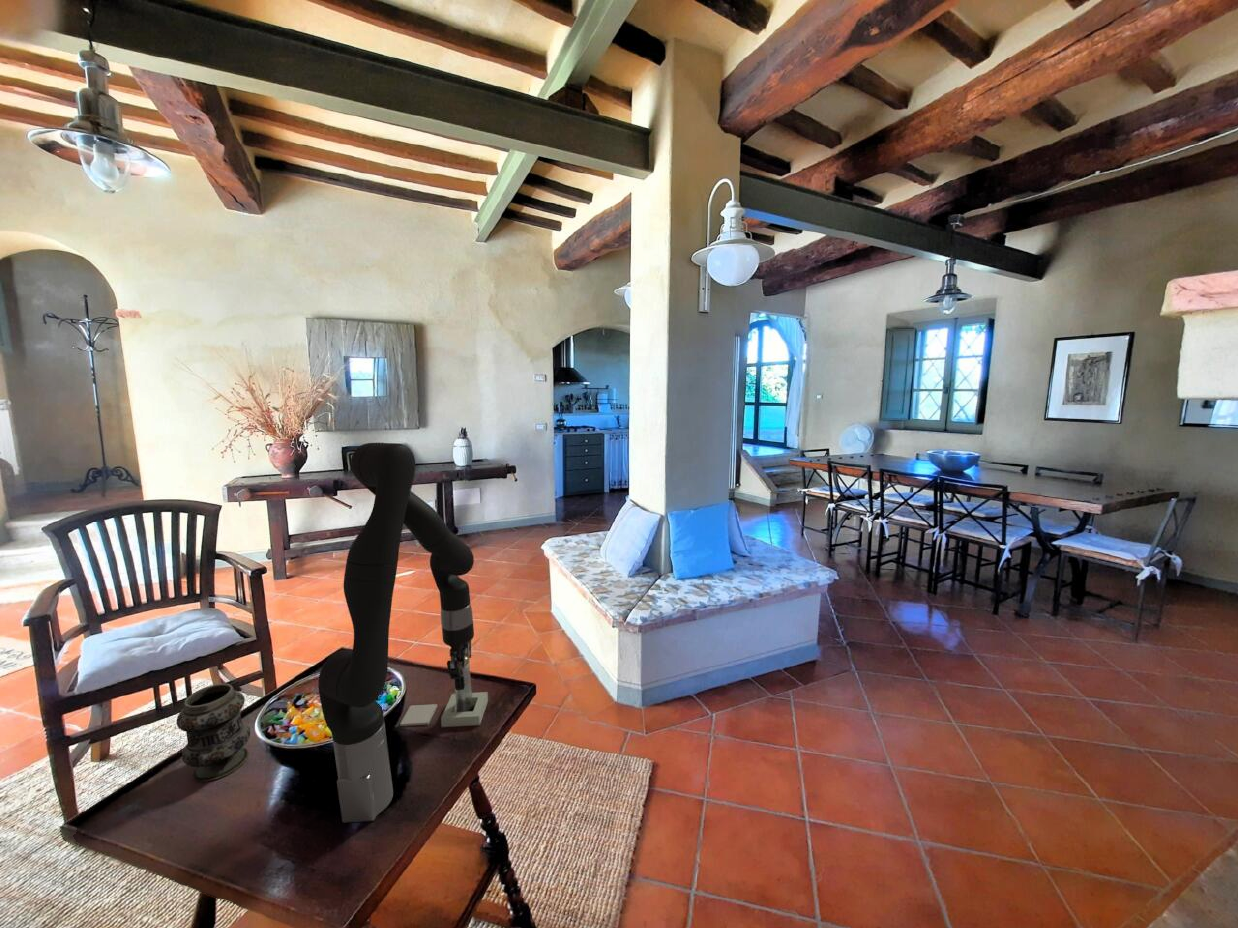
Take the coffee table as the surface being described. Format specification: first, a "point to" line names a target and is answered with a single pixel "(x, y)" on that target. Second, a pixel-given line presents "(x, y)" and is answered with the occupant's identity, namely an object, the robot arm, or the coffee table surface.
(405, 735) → the coffee table surface
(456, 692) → the steel pin
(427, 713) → the felt pad
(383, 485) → the robot arm
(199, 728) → the apothecary jar
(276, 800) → the coffee table surface
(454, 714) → the collar
